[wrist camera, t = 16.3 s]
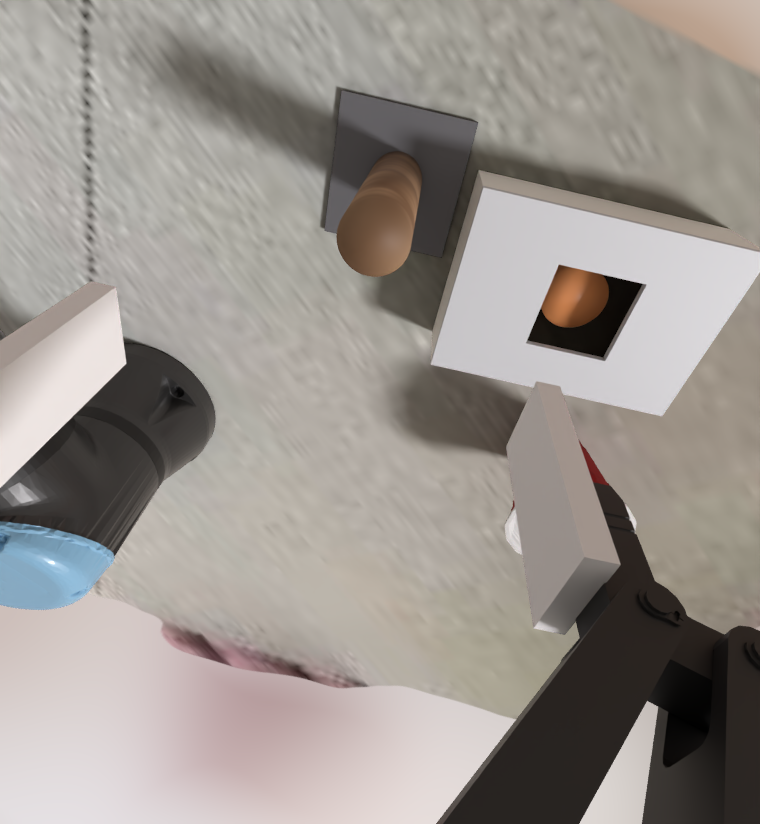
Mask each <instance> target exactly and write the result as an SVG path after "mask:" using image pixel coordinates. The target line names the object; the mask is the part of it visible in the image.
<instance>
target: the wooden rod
mask: <svg viewBox="0 0 760 824" xmlns="http://www.w3.org/2000/svg"><path fill="white" fill-rule="evenodd" d="M421 186H422V173H421V169H420V167H419V165H418V163H417V162H416V161H415V159H414V158H413V157H411V156H410V155H408V154H406V153H404V152H399V151H394V152H389V153H386V154H384V155H383V156H381V157H380V158H379V159H378V160H377V162H376V163H375V164H374V166H373V168H372V169H371V171H370V173H369V174H368V176H367V178H366V179H365V181H364V182H363V184H362V186H361V187H360V189H359V191H358V192H357V194H356V195H355V197H354V199H353V200H352V202H351V204H350V205H349V207H348V208H347V210H346V212H345V213H344V215H343V217H342V218H341V220H340V222H339V225H338V229H337V245H338V249H339V252H340V254H341V256H342V258H343V259H344V261H345V262H346V263H347V264H348V265H349V266H350V267H351V268H352V269H354V270H355V271H357V272H358V273H361V274H363V275H367V276H373V277H378V276H384V275H388V274H390V273H392V272H394V271H396V270H397V269H398V268H399V267H400V266H402V264H403V263H404V262H405V260H406V259H407V257H408V255H409V252H410V249H411V243H412V237H413V232H414V226H415V220H416V215H417V209H418V203H419V198H420V192H421Z"/></svg>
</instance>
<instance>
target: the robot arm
mask: <svg viewBox="0 0 760 824" xmlns="http://www.w3.org/2000/svg"><path fill="white" fill-rule="evenodd" d="M214 428H215V410H214V406H213V403H212V401H211V398H210V396H209V394H208V392H207V391H206V389H205V388H204V386H203V385H202V383H201V382H200V381H199V380H198V378H197V377H196V376H195V375H194V374H193V373H192V372H191V371H190V370H189V369H187V368H186V367H185V366H184V365H182V364H181V363H180V362H178V361H177V360H175V359H174V358H172V357H170V356H169V355H167V354H165V353H163V352H160V351H158V350H156V349H153V348H150V347H147V346H143V345H138V344H131V343H124V342H123V335H122V327H121V320H120V313H119V305H118V298H117V291H116V287H114V286H109V285H105V284H100V283H96V282H89V283H88V284H86V285H85V286H83V287H81V288H80V289H78V290H77V291H75V292H74V293H72V294H71V295H69V296H68V297H66V298H65V299H63V300H62V301H60V302H59V303H57V304H55V305H54V306H52V307H51V308H49V309H48V310H46V311H45V312H43V313H42V314H40V315H39V316H37V317H36V318H34V319H33V320H31V321H30V322H28V323H26V324H25V325H23V326H22V327H20V328H19V329H17V330H16V331H14V332H13V333H11V334H10V335H8V336H7V337H6V336H5V334H4V333H3V332H2V331H1V329H0V605H3V606H7V607H13V608H19V609H31V610H47V609H54V608H61V607H64V606H67V605H70V604H72V603H74V602H76V601H78V600H80V599H81V598H82V597H83V596H85V595H86V594H87V593H88V592H89V591H90V589H91V588H92V587H93V585H94V584H95V583H96V582H97V580H98V579H99V578H100V576H101V575H102V574H103V573H104V571H105V570H106V569H107V568H108V567H109V566H110V565H111V564H112V563H113V561H114V558H115V557H114V556H115V555H116V553H117V552H118V550H119V548H120V547H121V545H122V544H123V542H124V541H125V539H126V538H127V536H128V535H129V533H130V531H131V530H132V528H133V527H134V525H135V524H136V522H137V521H138V519H139V517H140V516H141V514H142V513H143V511H144V510H145V508H146V507H147V505H148V504H149V502H150V500H151V499H152V497H153V496H154V494H155V492H156V491H157V489H158V488H159V486H160V485H161V483H162V482H163V481H164V480H165V479H167V478H168V477H169V476H171V475H172V474H174V473H175V472H176V471H178V470H179V469H180V468H182V467H183V466H184V465H186V464H187V463H189V462H190V461H192V460H194V459H195V458H196V457H197V456H198V455H199V454H200V453H201V452H202V450H203V449H204V447H205V446H206V444H207V443H208V441H209V439H210V438H211V436H212V434H213V431H214ZM506 450H507V457H508V463H509V470H510V476H511V483H512V490H513V496H514V503H515V509H516V516H517V522H518V529H519V536H520V542H521V549H522V555H523V562H524V568H525V575H526V582H527V588H528V595H529V601H530V608H531V614H532V621H533V628H535V629H540V630H545V631H549V632H554V633H559V634H564V635H565V634H566V633H567V632H568V630H569V629H570V628H571V627H572V625H573V624H574V623H575V622H576V623H577V628H578V632H579V636H580V638H579V640H578V641H577V642H576V643H575V644H574V645H573V647H572V648H571V649H570V650H569V651H568V653H567V654H566V655H565V656H564V657H563V659H562V660H561V662H560V664H559V665H558V666H557V668H556V669H555V670H554V672H553V673H552V674H551V675H550V677H549V678H548V679H547V681H546V682H545V683H544V685H543V686H542V687H541V688H540V690H539V691H538V692H537V694H536V695H535V696H534V697H533V699H532V700H531V701H530V703H529V704H528V705H527V707H526V708H525V709H524V710H523V712H522V713H521V714H520V716H519V717H518V718H517V720H516V721H515V722H514V723H513V725H512V726H511V727H510V729H509V730H508V731H507V733H506V734H505V735H504V737H503V738H502V739H501V740H500V742H499V743H498V744H497V746H496V747H495V748H494V749H493V751H492V752H491V753H490V755H489V756H488V757H487V758H486V760H485V761H484V762H483V764H482V765H481V766H480V768H479V769H478V770H477V771H476V773H475V774H474V776H473V777H472V778H471V779H470V781H469V782H468V783H467V785H466V786H465V787H464V788H463V790H462V791H461V792H460V794H459V795H458V796H457V798H456V799H455V800H454V801H453V803H452V804H451V805H450V807H449V808H448V809H447V810H446V812H445V813H444V815H443V816H442V817H441V818H440V820H439V821H438V822H437V823H436V824H579V823H580V821H581V819H582V817H583V815H584V814H585V812H586V810H587V808H588V806H589V805H590V803H591V801H592V799H593V797H594V796H595V794H596V792H597V790H598V789H599V787H600V785H601V783H602V781H603V779H604V778H605V776H606V774H607V772H608V770H609V769H610V767H611V765H612V763H613V761H614V760H615V758H616V756H617V754H618V752H619V751H620V749H621V747H622V745H623V743H624V741H625V740H626V738H627V736H628V734H629V732H630V730H631V729H632V727H633V725H634V723H635V721H636V720H637V718H638V716H639V714H640V712H641V711H642V709H643V707H644V705H645V704H646V702H647V701H649V702H651V703H653V704H654V705H656V706H658V714H657V720H656V728H655V735H654V742H653V750H652V756H651V763H650V770H649V777H648V784H647V792H646V799H645V806H644V813H643V820H642V824H760V631H758V630H756V629H754V628H751V627H746V626H737V627H735V628H733V629H731V630H730V631H729V632H728V633H726V634H725V635H724V634H722V633H720V632H718V631H716V630H713V629H711V628H709V627H707V626H705V625H703V624H701V623H699V622H697V621H695V620H693V619H691V618H690V617H688V616H687V615H686V612H685V609H684V607H683V606H682V604H681V603H680V601H679V600H678V599H677V597H676V596H674V595H673V594H672V593H671V592H670V591H669V590H668V589H667V588H665V587H664V586H662V585H660V584H659V583H657V582H655V580H654V578H653V575H652V573H651V570H650V567H649V565H648V562H647V560H646V557H645V555H644V552H643V550H642V547H641V545H640V542H639V540H638V537H637V534H635V529H634V527H633V524H632V522H631V521H630V520H629V519H630V517H629V514H628V512H627V509H626V506H625V504H624V502H623V500H622V499H621V498H620V497H619V495H618V494H617V493H616V492H615V491H614V489H613V488H612V487H611V486H609V485H604V484H600V483H595V482H593V481H592V479H591V476H590V473H589V470H588V467H587V464H586V461H585V458H584V455H583V452H582V449H581V446H580V443H579V440H578V437H577V434H576V431H575V428H574V426H573V423H572V420H571V417H570V414H569V411H568V408H567V405H566V402H565V399H564V396H563V393H562V390H561V387H560V386H556V385H552V384H547V383H543V382H538V381H536V383H535V385H534V387H533V389H532V391H531V394H530V396H529V398H528V400H527V402H526V405H525V407H524V409H523V411H522V413H521V415H520V418H519V420H518V422H517V424H516V426H515V428H514V431H513V433H512V435H511V437H510V439H509V442H508V444H507V446H506Z"/></svg>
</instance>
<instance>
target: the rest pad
mask: <svg viewBox="0 0 760 824" xmlns="http://www.w3.org/2000/svg"><path fill="white" fill-rule="evenodd" d="M477 125H478V122H475V121H470V120H466V119H462V118H458V117H454V116H449V115H445V114H441V113H437V112H433V111H428V110H424V109H420V108H416V107H412V106H407V105H403V104H399V103H395V102H391V101H386V100H382V99H378V98H374V97H370V96H365V95H361V94H357V93H353V92H349V91H344V90H342V92H341V100H340V108H339V116H338V124H337V132H336V141H335V149H334V157H333V165H332V173H331V181H330V189H329V198H328V206H327V214H326V222H325V230H324V231H328V232H332V233H336V234H337V229H338V225H339V222H340V220H341V218H342V217H343V215H344V213H345V212H346V210H347V208H348V207H349V205H350V204H351V202H352V200H353V199H354V197H355V195H356V194H357V192H358V191H359V189H360V187H361V186H362V184H363V182H364V181H365V179H366V178H367V176H368V174H369V173H370V171H371V169H372V168H373V166H374V164H375V163H376V162H377V160H378V159H379V158H380V157H381V156H383V155H384V154H386V153H389V152H394V151H399V152H404V153H406V154H408V155H410V156H411V157H413V158H414V159H415V161H416V162H417V163H418V165H419V167H420V169H421V173H422V186H421V192H420V198H419V203H418V209H417V215H416V220H415V226H414V232H413V237H412V243H411V249H410V251H415V252H419V253H423V254H428V255H432V256H436V257H441V258H442V254H443V250H444V247H445V243H446V239H447V236H448V232H449V228H450V225H451V221H452V217H453V214H454V210H455V206H456V203H457V199H458V195H459V192H460V188H461V184H462V181H463V177H464V173H465V170H466V166H467V162H468V159H469V155H470V151H471V148H472V144H473V140H474V136H475V133H476V129H477Z"/></svg>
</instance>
